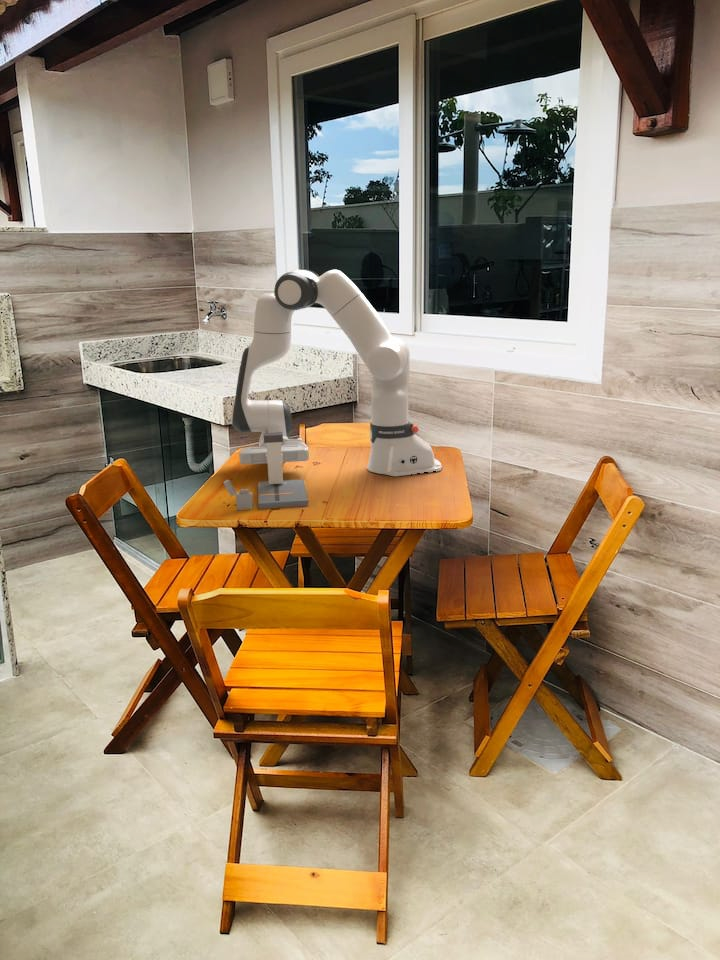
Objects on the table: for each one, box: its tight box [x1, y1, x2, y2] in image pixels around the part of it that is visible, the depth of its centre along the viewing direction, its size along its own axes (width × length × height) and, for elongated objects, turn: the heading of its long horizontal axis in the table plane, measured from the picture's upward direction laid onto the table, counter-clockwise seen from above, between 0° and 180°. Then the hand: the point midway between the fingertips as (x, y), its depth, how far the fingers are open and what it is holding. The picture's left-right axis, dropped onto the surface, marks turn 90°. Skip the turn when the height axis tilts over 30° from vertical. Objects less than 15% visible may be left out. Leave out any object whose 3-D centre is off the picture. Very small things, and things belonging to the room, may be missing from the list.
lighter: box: [223, 479, 254, 511], centre depth 206 cm, size 7×2×8 cm, turn 92°
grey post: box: [264, 432, 284, 484], centre depth 221 cm, size 5×4×14 cm
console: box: [257, 478, 309, 510], centre depth 216 cm, size 13×20×2 cm, turn 7°
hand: (274, 461), depth 225 cm, fingers closed
